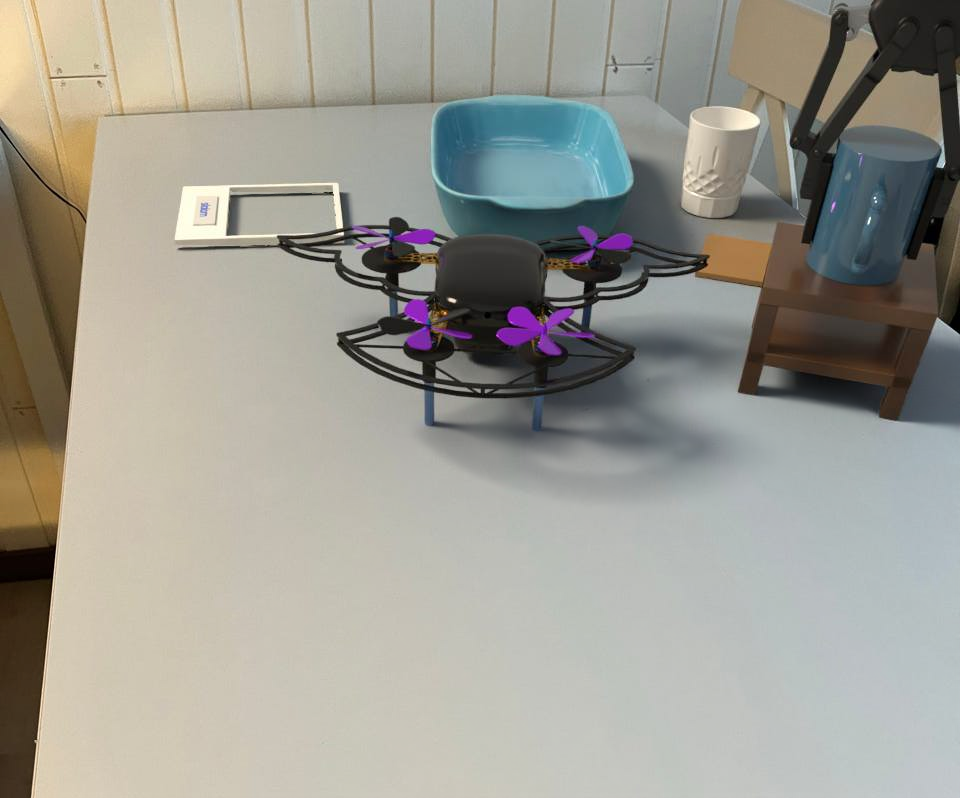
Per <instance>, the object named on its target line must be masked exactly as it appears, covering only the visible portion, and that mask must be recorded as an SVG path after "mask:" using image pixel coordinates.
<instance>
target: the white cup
mask: <svg viewBox="0 0 960 798" xmlns="http://www.w3.org/2000/svg"><path fill="white" fill-rule="evenodd" d="M761 123H762V121H761V118H760V117H759V116H758V115H756V114H755V113H753V112H751V111H748V110H745V109H741V108H737V107H730V106H721V105H720V106H719V105H712V106H703V107H699V108H696V109H694V110H693V111H692V112H690V116H689V124H688V132H687V138H686V146H685V147H686V148H685V155H684V162H683V174H682V188H681V195H680V207H681V208H682V209H683V210H684V211H685V212H686V213H689V214H691V215H694V216H697V217H701V218H708V219H722V218H727V217H730V216H733V215H734V214H735V213H736V212H737V210H738V207H739V203H740V199H741V196H742V191H743V189H744V186H745V183H746V181H747V175H748V173H749V169H750V165H751V161H752V157H753V154H754V150H755V146H756V143H757V138H758V135H759V131H760V127H761Z"/></svg>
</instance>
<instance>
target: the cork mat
mask: <svg viewBox="0 0 960 798" xmlns="http://www.w3.org/2000/svg"><path fill="white" fill-rule="evenodd" d="M771 246H772V242H765V241H757V240H753V239H752V240H751V239H747V238H746V239H745V238H738V237H732V236H726V235H725V236H724V235H718V234H712V233H707V235H706V238H705V241H704V244H703V247H702V250H701V253H700V254H704V255H710V257H709V258H708V259H707V263H708V266H707V267H705V268H704V269H702V270H699V271H697V272H694V277H698V278H704V279H711V280H717V281H722V282H723V281H724V282H729V283H735V284H742V285H747V286H755V287H760V288H761V287H762V282H763V278H764V274H765V270H766V266H767V262H768V258H769V254H770V250H771ZM700 263H703V262H700Z"/></svg>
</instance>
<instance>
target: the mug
mask: <svg viewBox="0 0 960 798" xmlns="http://www.w3.org/2000/svg"><path fill="white" fill-rule="evenodd" d="M942 153H943V148H942V146H941V145H940V144H939V142H938V141H936V140H935V139H933V138H932V137H929V136H927V135H925V134H923V133H920V132H917V131H913V130H909V129H906V128H901V127H896V126H887V125H871V124H870V125H858V126H852V127H849V128H845V129H844V130H843V132H842V133H841V135H840V136H839V137H838V139H837V140H836V143H835V148H834V152H833V158H832V166H831V169H830V173H829V177H828V180H827V184H826V188H825V191H824V195H823V199H822V203H821V206H820V210H819V214H818V217H817V221H816V225H815V228H814V232H813V236H812V239H811V243H810V244H809V247H808V250H807V254H806V262H807V264H808V266H809V267H810V268H811V269H812V270H814V271H815V272H817V273H818V274H820V275H822V276H824V277H826V278H829V279H831V280H834V281H838V282H842V283H846V284H852V285H862V286H873V285H882V284H886V283H889V282H892V281H894V280H895V279H896V278H897V277H898V276H899V274H900V272H901V269H902V266H903V263H904V260H905V257H906V255H907V252H908V249H909V246H910V243H911V240H912V237H913V234H914V231H915V228H916V226H917V223H918V220H919V217H920V214H921V211H922V208H923V205H924V202H925V200H926V197H927V194H928V191H929V188H930V185H931V182H932V179H933V176H934V173H935V171H936V168H937V167H938V164H939V162H940V159H941V156H942Z"/></svg>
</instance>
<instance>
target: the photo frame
mask: <svg viewBox="0 0 960 798" xmlns="http://www.w3.org/2000/svg"><path fill="white" fill-rule="evenodd" d="M325 190H333V193H332V194H334V196H333V205H334V204H335V206H334V215H335V214H336V216H335V225H336V229H340V228H344V223H343V214H342V206H341V197H340V187H339V182H317V183H316V182H313V183H309V182H308V183H275V184H274V183H271V184H233V185H231V184H230V185H229V184H228V185H226V184H225V185H194V186H193V185H192V186H189V185H187V186H185V185H184V186H183V187H182V193H181V197H180V204H179V210H178V216H177V222H176V227H175V235H174V245H265V246H264V247H266V246H267V245H270V246H278V244H279V239H278V238H277V235H308V234H316V233H317V232H312V233H310V232H307V233H277V234H273V233H272V234H246V235H245V234H244V235H243V234H242V235H228V236H227V228H228V229H229V223H228V214H229V215H230V211H229V199H230V200H231V198H230V191H232V192H238V191H239V192H325ZM228 212H229V213H228ZM341 236H345V232H341V233H338V234H334V235H330V236H324V237H318V238H309V239H289V240H291V241H293V242H295V243H297V244H299V243H313V242H319V241H325V240H330V239H334V238H338V237H341ZM283 244H285V243H284V242H283ZM332 244H345V240H343V241H339V242H336V243H332ZM267 247H268V246H267Z"/></svg>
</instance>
